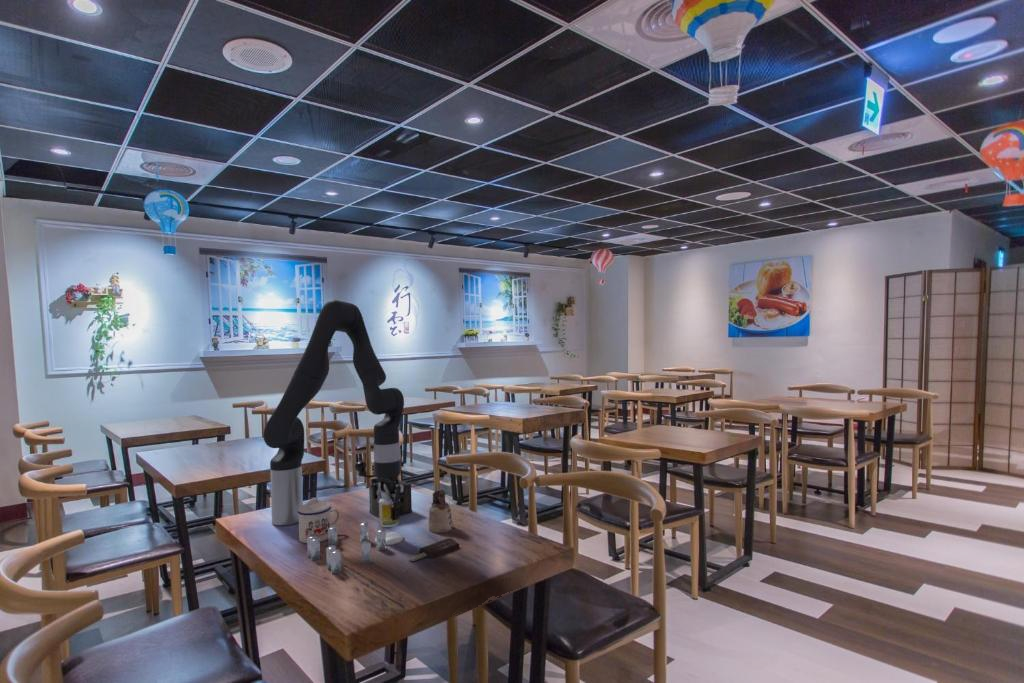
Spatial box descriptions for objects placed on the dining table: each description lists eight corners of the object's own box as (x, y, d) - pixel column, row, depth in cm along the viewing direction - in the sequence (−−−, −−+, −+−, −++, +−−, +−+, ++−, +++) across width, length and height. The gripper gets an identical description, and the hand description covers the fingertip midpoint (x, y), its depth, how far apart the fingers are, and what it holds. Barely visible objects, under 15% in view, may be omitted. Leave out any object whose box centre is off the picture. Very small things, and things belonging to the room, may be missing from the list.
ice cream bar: (416, 566, 134) (461, 548, 145) (416, 559, 134) (461, 542, 145) (404, 560, 138) (449, 543, 149) (404, 553, 138) (449, 537, 149)
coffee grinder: (395, 505, 182) (394, 453, 182) (412, 512, 174) (411, 458, 174) (353, 516, 172) (351, 461, 172) (369, 524, 164) (367, 466, 164)
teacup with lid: (304, 546, 147) (303, 505, 147) (294, 537, 155) (293, 497, 154) (346, 535, 155) (345, 496, 155) (334, 527, 162) (333, 489, 162)
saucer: (369, 540, 151) (369, 538, 151) (392, 532, 157) (392, 530, 157) (385, 547, 145) (385, 545, 145) (409, 538, 151) (409, 536, 151)
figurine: (450, 523, 163) (449, 484, 163) (455, 531, 157) (454, 490, 156) (427, 526, 161) (426, 487, 161) (431, 534, 154) (429, 493, 154)
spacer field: (299, 554, 142) (298, 536, 142) (357, 535, 155) (357, 518, 155) (336, 575, 129) (335, 555, 129) (396, 552, 142) (396, 534, 142)
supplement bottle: (375, 524, 151) (374, 491, 151) (391, 519, 155) (390, 487, 155) (387, 529, 147) (386, 494, 147) (402, 523, 151) (401, 490, 151)
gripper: (413, 459, 149) (415, 519, 149) (383, 452, 159) (385, 508, 159) (390, 464, 143) (392, 526, 144) (361, 457, 153) (363, 515, 153)
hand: (388, 517), depth 151 cm, fingers closed on supplement bottle, 5 cm apart
